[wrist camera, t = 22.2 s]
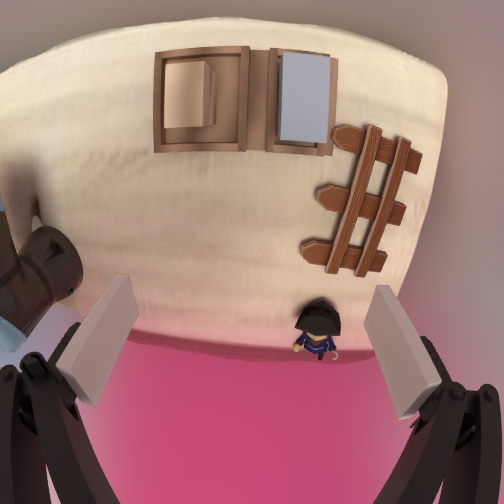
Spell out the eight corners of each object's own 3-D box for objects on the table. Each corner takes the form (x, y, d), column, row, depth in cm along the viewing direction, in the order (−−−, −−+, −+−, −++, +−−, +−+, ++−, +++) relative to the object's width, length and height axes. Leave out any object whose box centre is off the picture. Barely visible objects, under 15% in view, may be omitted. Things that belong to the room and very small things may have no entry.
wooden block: (186, 124, 33) (164, 128, 25) (187, 75, 29) (165, 64, 21) (216, 124, 33) (202, 126, 25) (217, 74, 29) (204, 61, 21)
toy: (291, 359, 52) (289, 321, 42) (298, 333, 57) (299, 290, 46) (335, 367, 49) (346, 331, 39) (340, 340, 54) (351, 299, 43)
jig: (158, 149, 35) (150, 153, 33) (159, 57, 29) (151, 53, 26) (330, 154, 35) (336, 158, 32) (335, 60, 29) (342, 55, 26)
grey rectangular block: (276, 135, 33) (280, 139, 27) (278, 63, 29) (283, 51, 22) (314, 138, 33) (326, 143, 27) (317, 67, 29) (330, 57, 22)
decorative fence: (420, 146, 34) (335, 113, 31) (427, 148, 32) (340, 114, 30) (375, 274, 44) (295, 264, 42) (379, 279, 43) (298, 270, 41)
